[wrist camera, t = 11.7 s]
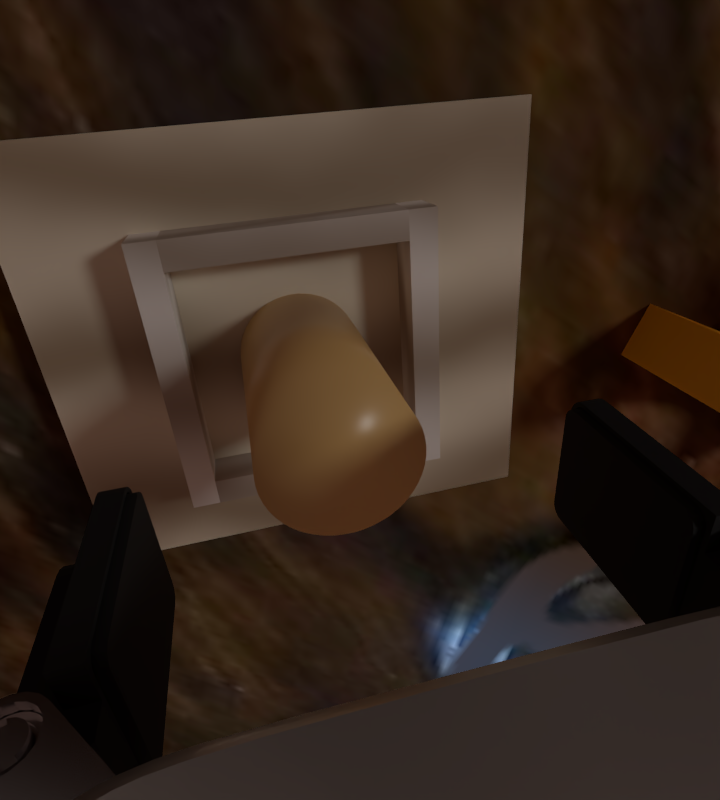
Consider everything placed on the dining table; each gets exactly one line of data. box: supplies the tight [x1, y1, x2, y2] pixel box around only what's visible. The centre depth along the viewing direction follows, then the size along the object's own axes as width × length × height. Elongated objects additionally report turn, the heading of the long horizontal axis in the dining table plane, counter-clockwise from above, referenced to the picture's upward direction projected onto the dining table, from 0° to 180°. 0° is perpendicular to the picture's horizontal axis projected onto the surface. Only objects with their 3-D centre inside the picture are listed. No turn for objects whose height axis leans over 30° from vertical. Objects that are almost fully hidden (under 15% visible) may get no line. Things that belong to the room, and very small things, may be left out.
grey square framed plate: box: [0, 94, 532, 550], centre depth 21 cm, size 16×18×3 cm
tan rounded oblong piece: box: [240, 293, 426, 535], centre depth 18 cm, size 4×4×8 cm
